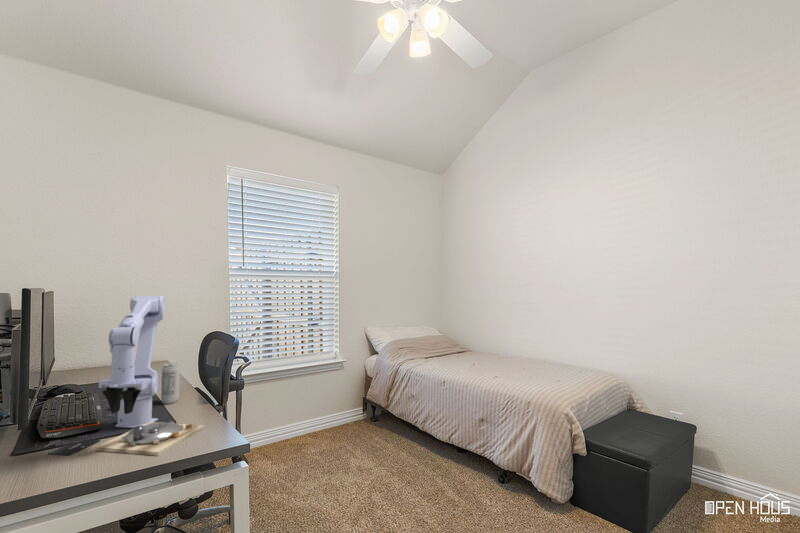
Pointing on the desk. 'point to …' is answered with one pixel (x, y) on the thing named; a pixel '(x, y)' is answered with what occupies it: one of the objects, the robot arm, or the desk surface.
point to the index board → (150, 448)
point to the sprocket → (152, 433)
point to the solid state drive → (73, 447)
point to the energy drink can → (170, 383)
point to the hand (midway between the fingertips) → (122, 412)
